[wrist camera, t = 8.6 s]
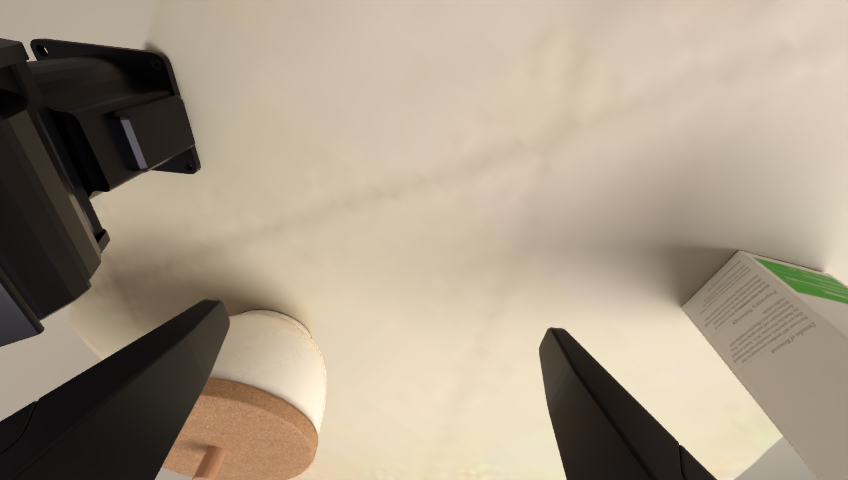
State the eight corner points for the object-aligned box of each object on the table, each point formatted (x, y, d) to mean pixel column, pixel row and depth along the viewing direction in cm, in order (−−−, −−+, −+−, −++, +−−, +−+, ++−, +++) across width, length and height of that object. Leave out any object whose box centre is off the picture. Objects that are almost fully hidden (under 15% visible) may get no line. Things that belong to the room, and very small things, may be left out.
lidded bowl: (202, 264, 25) (72, 408, 16) (361, 314, 28) (328, 461, 19) (193, 357, 31) (96, 498, 22) (322, 390, 34) (283, 527, 25)
